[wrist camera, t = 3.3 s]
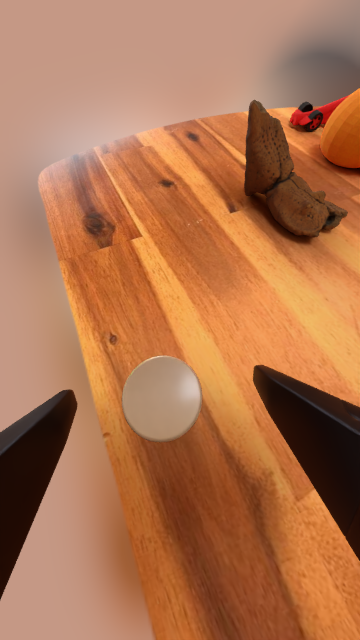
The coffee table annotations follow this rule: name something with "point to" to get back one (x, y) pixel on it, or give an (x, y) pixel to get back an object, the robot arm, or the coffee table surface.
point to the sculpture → (283, 179)
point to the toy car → (314, 114)
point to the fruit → (343, 133)
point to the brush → (162, 399)
